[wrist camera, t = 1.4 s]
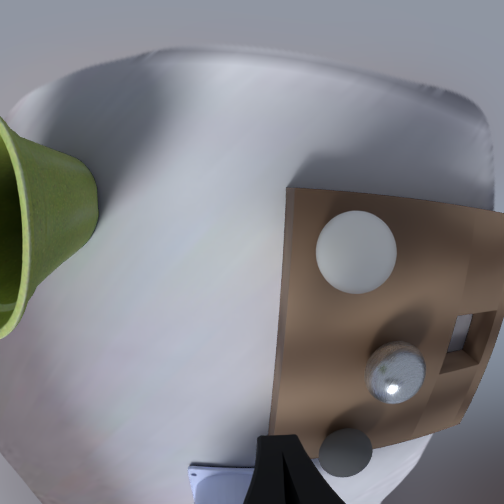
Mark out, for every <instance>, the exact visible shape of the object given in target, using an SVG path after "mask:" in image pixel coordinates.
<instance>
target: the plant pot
mask: <svg viewBox="0 0 504 504" xmlns="http://www.w3.org/2000/svg"><path fill="white" fill-rule="evenodd" d="M98 215H99V212H98V202H97V186H96V183H95V180H94V178H93V176H92V174H91V172H90V171H89V169H88V168H87V167H86V166H85V165H84V164H83V163H82V162H81V161H79V160H78V159H76V158H74V157H72V156H69V155H67V154H64V153H61V152H59V151H56V150H53V149H51V148H48V147H46V146H43V145H40V144H38V143H35V142H33V141H30V140H27V139H25V138H22V137H20V136H19V135H18V134H17V133H15V132H14V131H13V130H12V129H10V128H9V126H8V125H7V123H6V122H5V121H4V120H3V119H2V118H1V117H0V339H2V338H4V337H6V336H7V335H8V334H9V333H10V332H12V331H13V330H14V328H15V327H16V326H17V325H18V323H19V322H20V320H21V318H22V316H23V314H24V312H25V309H26V306H27V303H28V301H29V300H30V298H31V297H32V295H33V294H34V292H35V290H36V287H37V286H38V285H39V284H40V283H41V282H42V281H43V280H44V279H45V278H46V277H47V276H48V275H50V274H51V273H52V272H53V271H54V270H55V269H56V268H57V267H59V266H60V265H61V264H62V263H63V262H65V261H66V260H67V259H68V258H70V257H71V256H72V255H73V254H74V253H76V252H77V251H78V250H79V249H80V248H82V247H83V246H84V245H85V244H86V243H87V241H88V240H89V239H90V237H91V235H92V233H93V231H94V229H95V227H96V224H97V220H98Z"/></svg>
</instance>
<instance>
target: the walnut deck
mask: <svg viewBox="0 0 504 504" xmlns="http://www.w3.org/2000/svg"><path fill="white" fill-rule="evenodd" d="M348 211H365V212H368V213H371V214H373V215H375V216H377V217H378V218H380V219H381V220H382V221H383V222H384V223H386V225H387V226H388V227H389V229H390V230H391V232H392V234H393V236H394V239H395V242H396V248H397V256H396V262H395V266H394V268H393V271H392V273H391V274H390V276H389V277H388V279H387V280H386V281H385V282H384V283H383V284H382V285H381V286H379V287H378V288H376V289H374V290H372V291H370V292H367V293H362V294H350V293H346V292H343V291H340V290H338V289H336V288H335V287H333V286H332V285H331V284H330V283H329V282H328V281H326V279H325V278H324V277H323V275H322V273H321V272H320V270H319V267H318V264H317V259H316V245H317V241H318V238H319V235H320V233H321V231H322V229H323V228H324V227H325V225H326V224H327V223H328V222H329V221H330V220H331V219H333V218H334V217H336V216H337V215H339V214H342V213H345V212H348ZM466 314H473V317H472V320H471V324H470V327H469V331H468V334H467V337H466V340H465V343H464V346H463V349H462V350H459V351H454V352H449V353H446V352H447V349H448V346H449V343H450V340H451V337H452V333H453V330H454V326H455V323H456V319H457V316H459V315H466ZM503 318H504V213H500V212H495V211H490V210H484V209H478V208H473V207H467V206H461V205H454V204H448V203H441V202H434V201H427V200H420V199H412V198H404V197H395V196H387V195H377V194H368V193H357V192H346V191H334V190H321V189H306V188H288V187H286V208H285V228H284V247H283V264H282V279H281V294H280V308H279V322H278V335H277V347H276V359H275V370H274V381H273V392H272V402H271V412H270V421H269V431H268V435H290V434H296V435H297V436H298V438H299V440H300V442H301V444H302V445H303V447H304V449H305V451H306V453H307V454H308V456H309V457H310V459H314V458H319V449H320V446H321V444H322V443H323V441H324V440H325V439H326V437H327V436H329V435H330V434H331V433H333V432H335V431H337V430H340V429H345V428H352V429H357V430H360V431H362V432H363V433H364V434H366V435H367V436H368V438H369V439H370V441H371V444H372V449H376V448H380V447H385V446H389V445H393V444H397V443H401V442H405V441H408V440H412V439H416V438H419V437H422V436H426V435H429V434H432V433H435V432H438V431H441V430H444V429H447V428H449V427H452V426H455V425H458V424H460V422H461V420H462V418H463V416H464V414H465V412H466V411H467V409H468V407H469V405H470V403H471V401H472V398H473V396H474V394H475V392H476V390H477V388H478V385H479V383H480V381H481V379H482V376H483V374H484V372H485V369H486V367H487V364H488V362H489V359H490V356H491V354H492V351H493V348H494V346H495V343H496V340H497V337H498V334H499V331H500V327H501V324H502V321H503ZM393 341H404V342H408V343H410V344H412V345H414V346H415V347H416V348H418V349H419V351H420V352H421V353H422V355H423V357H424V359H425V363H426V376H425V380H424V383H423V385H422V386H421V388H420V390H419V391H418V392H417V393H416V394H415V395H414V396H413V397H412V398H410V399H408V400H407V401H404V402H402V403H398V404H387V403H383V402H380V401H379V400H377V399H375V398H374V397H373V396H372V395H371V394H370V392H369V391H368V389H367V387H366V384H365V379H364V372H365V367H366V364H367V362H368V360H369V358H370V356H371V355H372V354H373V352H374V351H375V350H377V349H378V348H379V347H381V346H382V345H384V344H386V343H389V342H393Z"/></svg>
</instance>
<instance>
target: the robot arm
mask: <svg viewBox="0 0 504 504" xmlns="http://www.w3.org/2000/svg"><path fill="white" fill-rule="evenodd" d="M188 475H189V479H190V484H191V488H192V492H193V497H194V501H195V502H194V504H346V503H345V502H344V501H343V500H342V499H341V498H340V497H339V496H338V495H337V494H336V493H335V491H334V490H333V489H332V488H331V487H330V486H329V484H328V483H327V482H326V480H325V479H324V478H323V476H322V475H321V474H320V472H319V471H318V470H317V468H316V467H315V465H314V464H313V462H312V461H311V459H310V457H309V456H308V454H307V453H306V451H305V449H304V447H303V445H302V444H301V442H300V440H299V438H298V436H297V435H296V434H290V435H267V436H259V437H258V438H257V449H256V462H255V468H219V467H202V466H189V467H188Z"/></svg>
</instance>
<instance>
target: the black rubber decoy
mask: <svg viewBox="0 0 504 504" xmlns="http://www.w3.org/2000/svg"><path fill="white" fill-rule="evenodd" d="M371 457H372V444H371V441H370V439H369V438H368V436H367V435H366V434H364V433H363V432H362V431H360V430H357V429H352V428H345V429H340V430H337V431H335V432H333V433H331V434H330V435H329V436H327V437H326V439H325V440H324V441H323V443H322V444H321V446H320V449H319V462H320V464H321V466H322V468H323V469H324V470H325V471H326V472H327V473H329V474H331V475H333V476H336V477H350V476H353V475H355V474H357V473H359V472H361V471H362V470H363V469H364V468H365V467H366V466H367V465H368V463H369V461H370V459H371Z"/></svg>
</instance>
